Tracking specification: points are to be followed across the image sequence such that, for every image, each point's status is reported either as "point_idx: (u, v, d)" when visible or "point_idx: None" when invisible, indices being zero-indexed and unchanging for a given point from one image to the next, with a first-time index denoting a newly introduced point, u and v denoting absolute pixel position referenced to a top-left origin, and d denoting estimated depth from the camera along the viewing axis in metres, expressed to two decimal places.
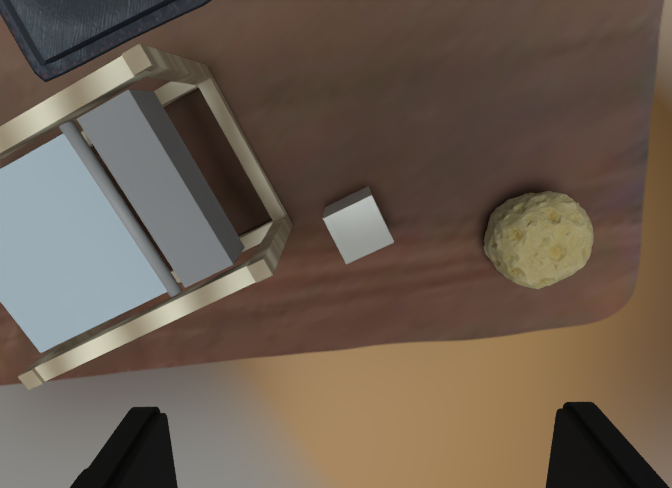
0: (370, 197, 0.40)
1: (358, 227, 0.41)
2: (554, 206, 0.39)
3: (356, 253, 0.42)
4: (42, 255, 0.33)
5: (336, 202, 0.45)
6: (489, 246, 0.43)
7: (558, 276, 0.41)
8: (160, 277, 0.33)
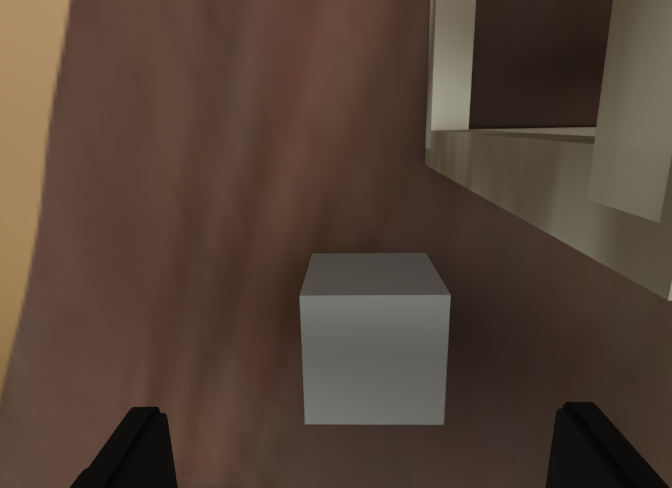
0: (440, 420, 0.16)
1: (382, 366, 0.15)
2: None
3: (317, 332, 0.15)
4: None
5: None
6: None
7: None
8: None
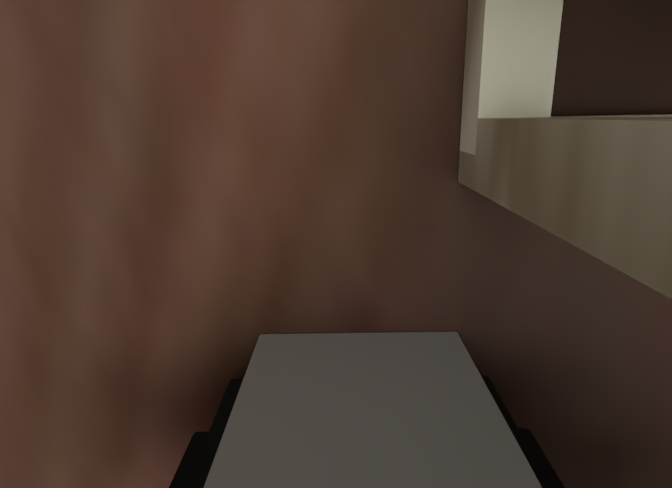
0: None
1: None
2: None
3: None
4: None
5: None
6: None
7: None
8: None
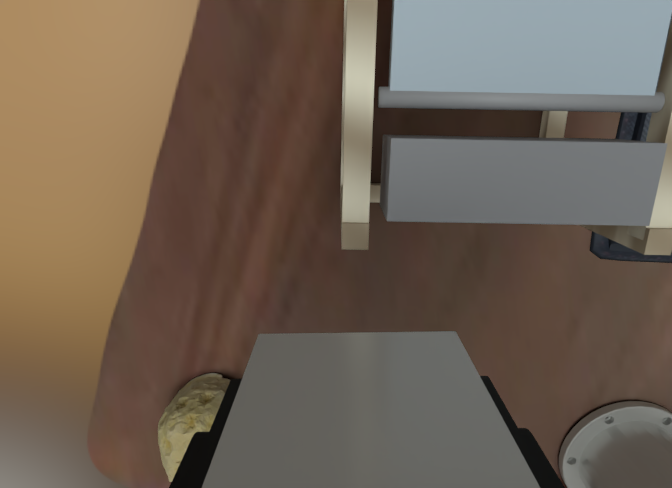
0: None
1: None
2: None
3: None
4: None
5: None
6: None
7: (168, 459, 0.37)
8: (414, 94, 0.22)
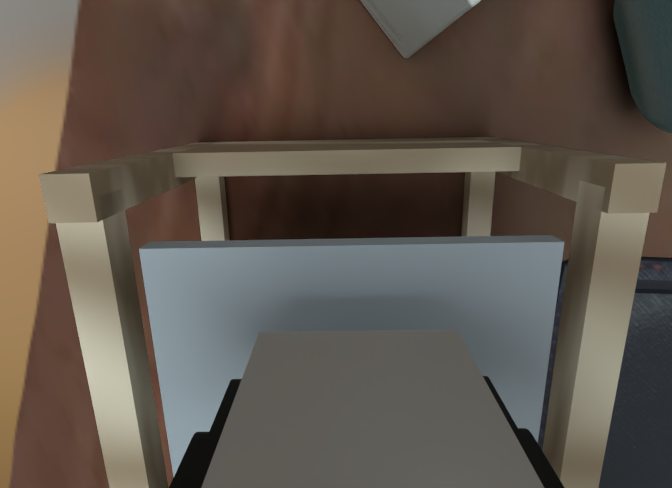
0: None
1: None
2: None
3: None
4: None
5: None
6: None
7: None
8: None
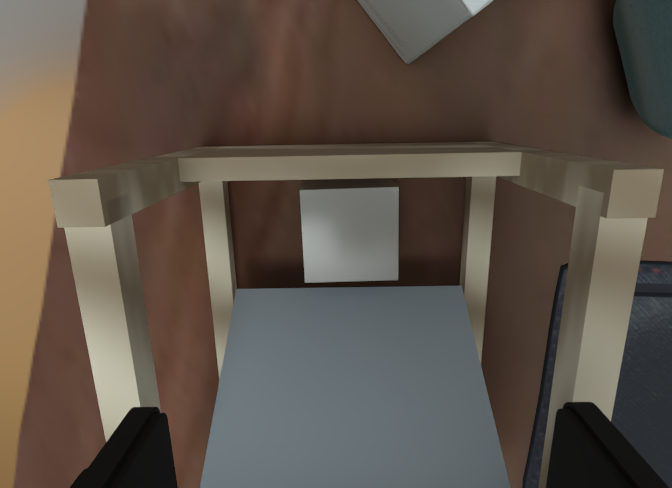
0: (395, 186, 0.22)
1: (353, 181, 0.25)
2: None
3: (314, 179, 0.26)
4: (352, 372, 0.22)
5: None
6: None
7: None
8: None
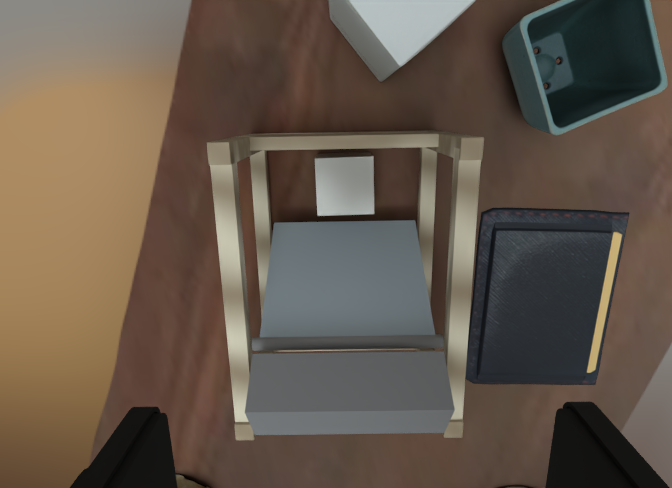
0: (371, 156, 0.38)
1: (347, 154, 0.40)
2: None
3: (322, 154, 0.41)
4: (346, 265, 0.37)
5: None
6: None
7: None
8: (275, 338, 0.33)
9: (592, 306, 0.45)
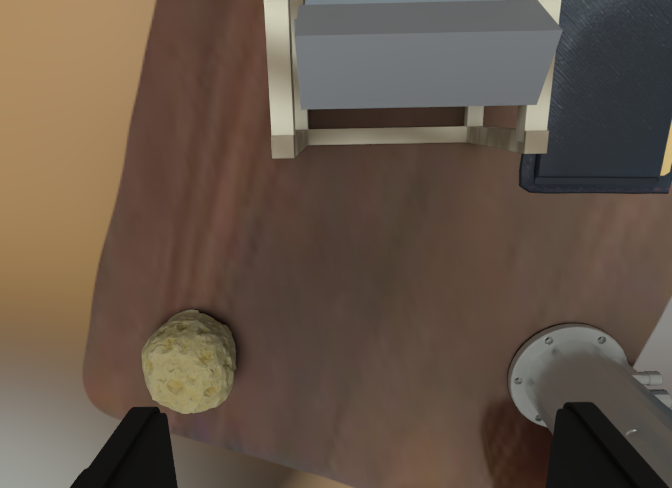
0: None
1: None
2: (219, 392, 0.43)
3: None
4: None
5: None
6: (199, 324, 0.43)
7: (150, 378, 0.42)
8: None
9: (671, 85, 0.39)
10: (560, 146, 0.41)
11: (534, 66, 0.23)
